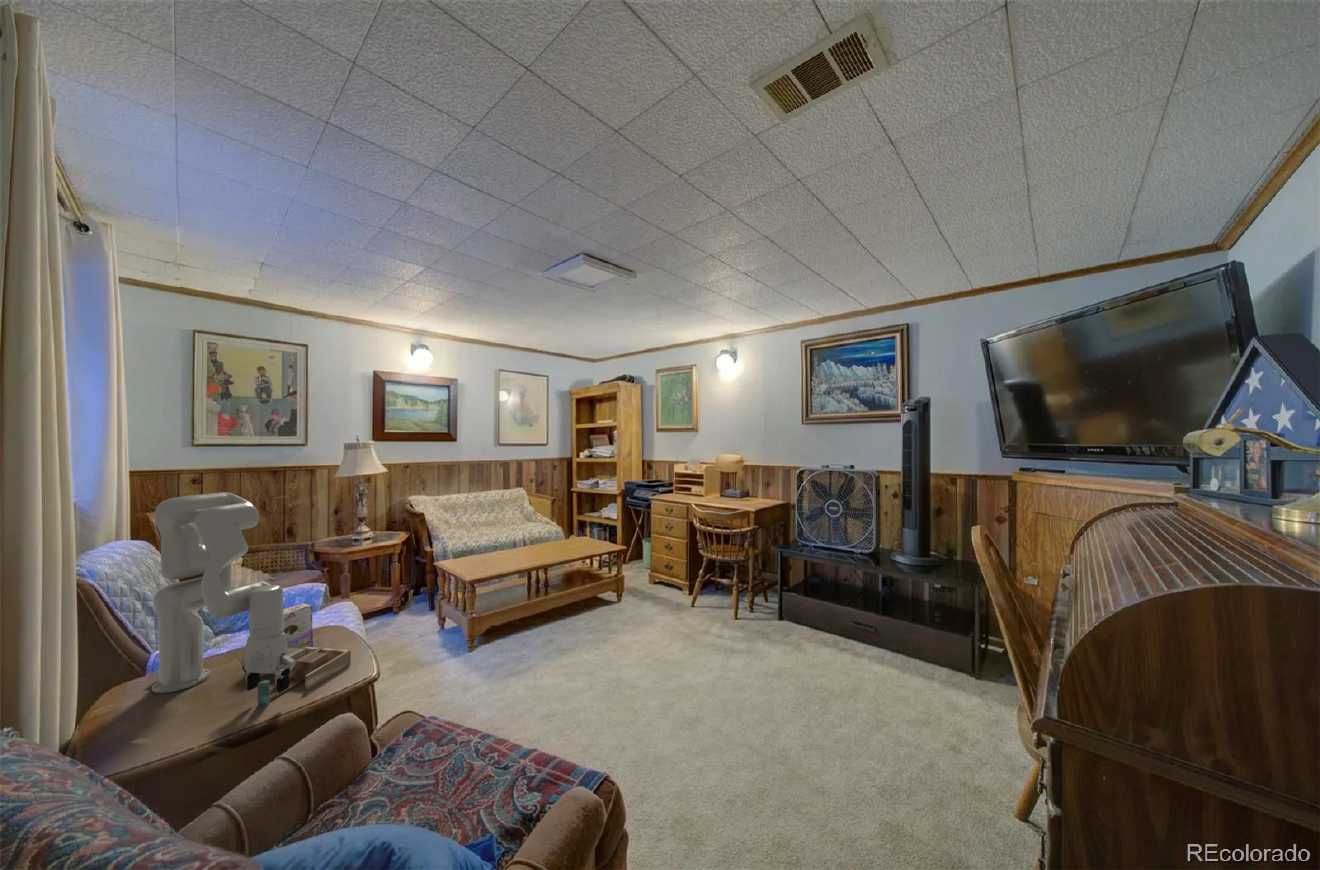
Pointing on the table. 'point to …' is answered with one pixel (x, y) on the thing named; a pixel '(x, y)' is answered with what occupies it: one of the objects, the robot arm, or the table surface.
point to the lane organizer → (335, 663)
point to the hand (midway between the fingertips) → (268, 688)
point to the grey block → (295, 653)
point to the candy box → (298, 625)
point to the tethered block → (301, 669)
